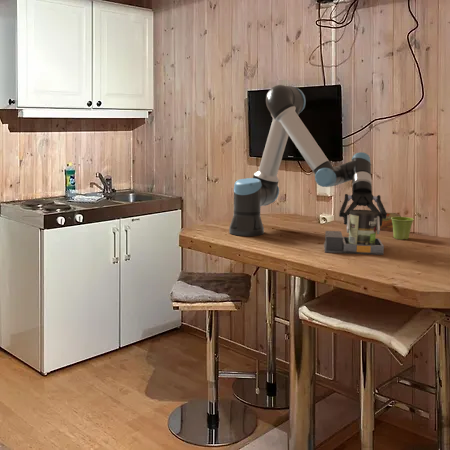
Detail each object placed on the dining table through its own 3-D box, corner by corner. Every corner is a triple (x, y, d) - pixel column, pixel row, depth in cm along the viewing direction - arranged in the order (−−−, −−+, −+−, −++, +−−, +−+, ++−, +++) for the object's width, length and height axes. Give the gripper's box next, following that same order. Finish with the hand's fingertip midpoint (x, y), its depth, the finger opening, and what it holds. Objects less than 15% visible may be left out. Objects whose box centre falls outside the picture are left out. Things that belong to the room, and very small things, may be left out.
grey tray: (324, 252, 220) (325, 237, 219) (323, 244, 234) (324, 230, 233) (383, 255, 217) (384, 239, 216) (378, 247, 231) (379, 232, 230)
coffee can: (379, 247, 226) (382, 211, 224) (368, 251, 218) (371, 214, 216) (354, 243, 232) (357, 208, 230) (343, 247, 224) (345, 211, 222)
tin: (368, 229, 270) (369, 211, 269) (369, 228, 273) (370, 210, 272) (402, 232, 265) (403, 213, 263) (402, 231, 268) (404, 212, 266)
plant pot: (409, 241, 244) (410, 221, 242) (386, 238, 248) (388, 218, 247) (415, 238, 251) (416, 218, 250) (393, 235, 256) (394, 215, 255)
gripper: (390, 192, 235) (393, 238, 223) (332, 190, 238) (331, 235, 226) (392, 180, 229) (396, 227, 217) (333, 178, 232) (333, 224, 220)
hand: (363, 231), depth 221 cm, fingers open, 10 cm apart
